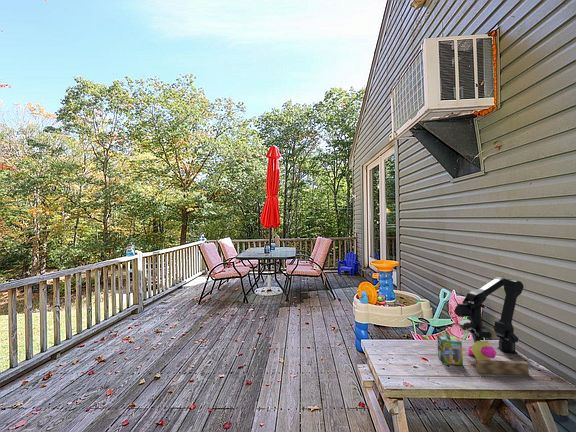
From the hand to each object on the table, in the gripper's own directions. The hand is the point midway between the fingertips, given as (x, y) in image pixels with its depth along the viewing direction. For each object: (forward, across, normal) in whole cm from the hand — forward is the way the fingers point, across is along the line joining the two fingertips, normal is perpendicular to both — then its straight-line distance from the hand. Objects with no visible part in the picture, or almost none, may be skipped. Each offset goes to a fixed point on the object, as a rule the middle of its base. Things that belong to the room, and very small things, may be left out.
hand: (476, 344), depth 156 cm
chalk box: (+5, +10, -18) cm, 21 cm away
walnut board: (+4, +21, 0) cm, 21 cm away
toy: (+5, +7, -1) cm, 8 cm away
